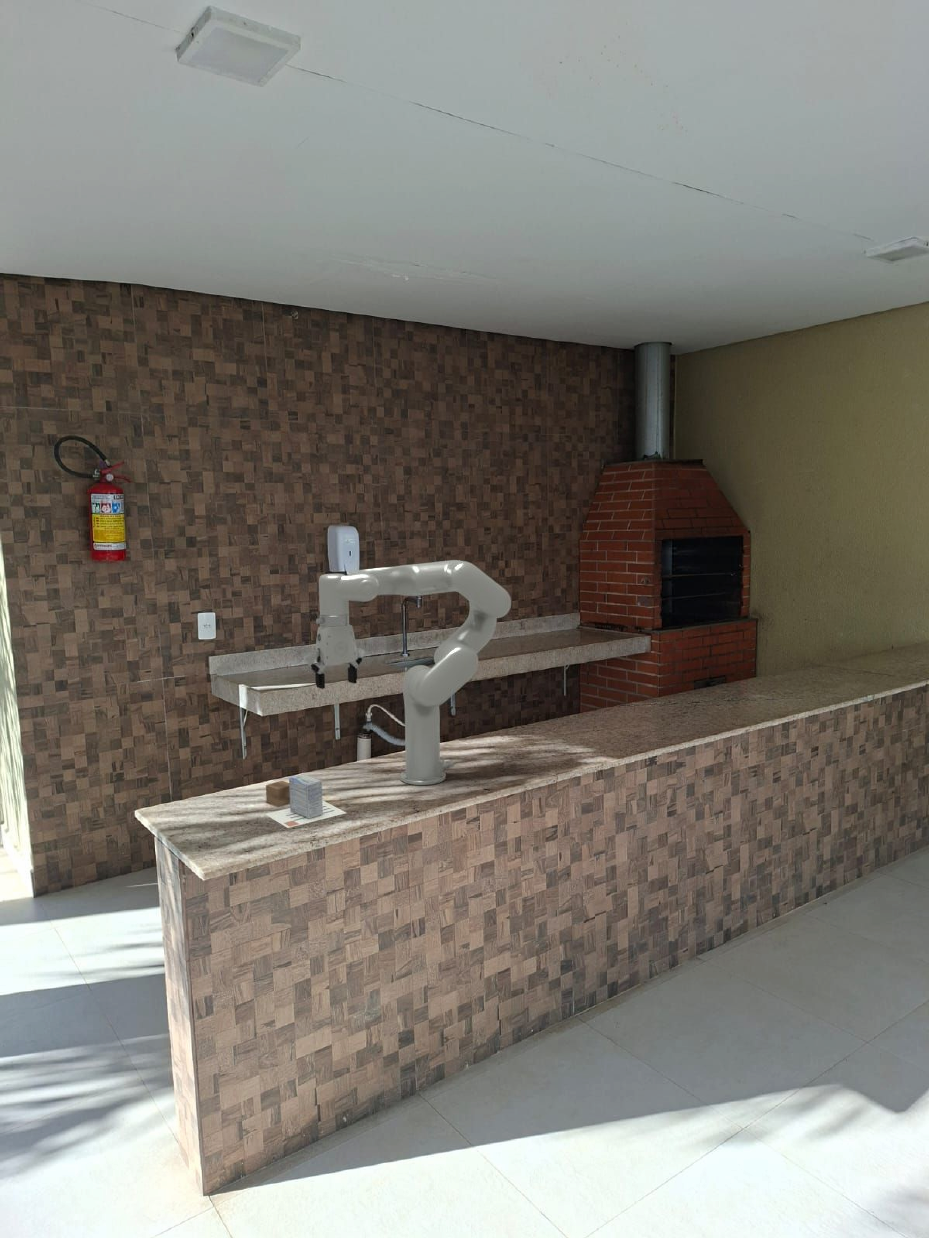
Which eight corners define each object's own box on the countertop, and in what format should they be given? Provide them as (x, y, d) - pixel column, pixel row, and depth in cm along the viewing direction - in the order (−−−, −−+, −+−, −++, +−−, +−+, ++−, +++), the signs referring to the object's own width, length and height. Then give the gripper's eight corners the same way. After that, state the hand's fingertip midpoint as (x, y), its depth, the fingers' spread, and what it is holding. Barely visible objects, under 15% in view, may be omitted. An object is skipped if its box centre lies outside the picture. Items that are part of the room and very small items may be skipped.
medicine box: (323, 814, 213) (322, 780, 212) (308, 819, 210) (307, 784, 209) (304, 807, 219) (303, 773, 218) (289, 811, 216) (288, 777, 214)
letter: (322, 801, 224) (322, 800, 224) (346, 814, 215) (346, 812, 215) (264, 815, 214) (264, 813, 214) (287, 829, 205) (287, 827, 205)
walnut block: (282, 799, 226) (281, 780, 225) (294, 803, 223) (294, 784, 222) (266, 804, 222) (265, 785, 222) (278, 808, 219) (278, 789, 218)
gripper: (312, 625, 220) (315, 692, 223) (370, 619, 231) (372, 682, 234) (298, 623, 226) (300, 687, 228) (355, 616, 237) (356, 678, 239)
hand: (336, 685), depth 231 cm, fingers open, 9 cm apart
